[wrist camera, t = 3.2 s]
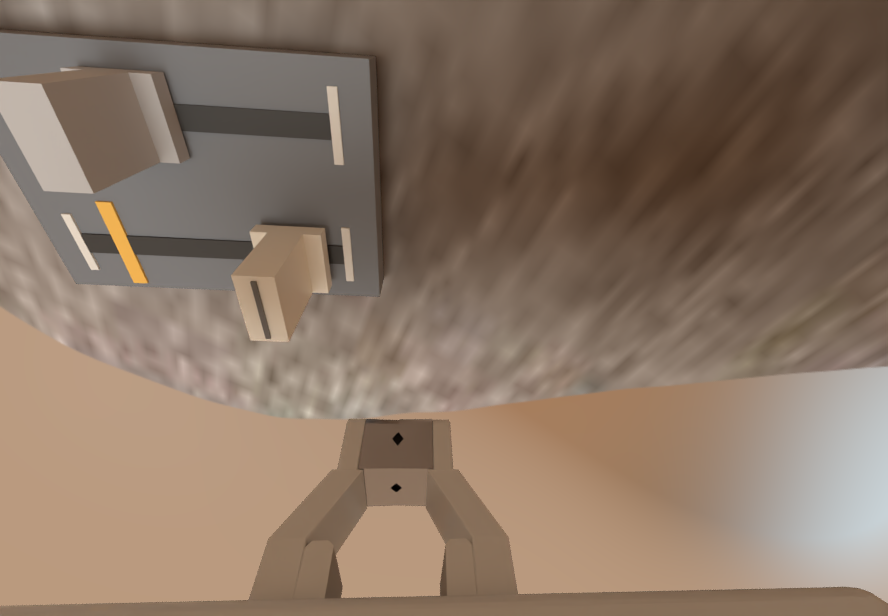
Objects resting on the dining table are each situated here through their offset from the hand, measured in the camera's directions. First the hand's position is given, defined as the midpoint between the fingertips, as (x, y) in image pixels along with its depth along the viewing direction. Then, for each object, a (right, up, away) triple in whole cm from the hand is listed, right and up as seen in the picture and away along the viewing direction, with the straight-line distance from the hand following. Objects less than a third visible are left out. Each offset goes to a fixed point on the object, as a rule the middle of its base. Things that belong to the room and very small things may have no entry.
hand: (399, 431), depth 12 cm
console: (-10, +10, +8) cm, 16 cm away
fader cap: (-6, +6, +8) cm, 12 cm away
